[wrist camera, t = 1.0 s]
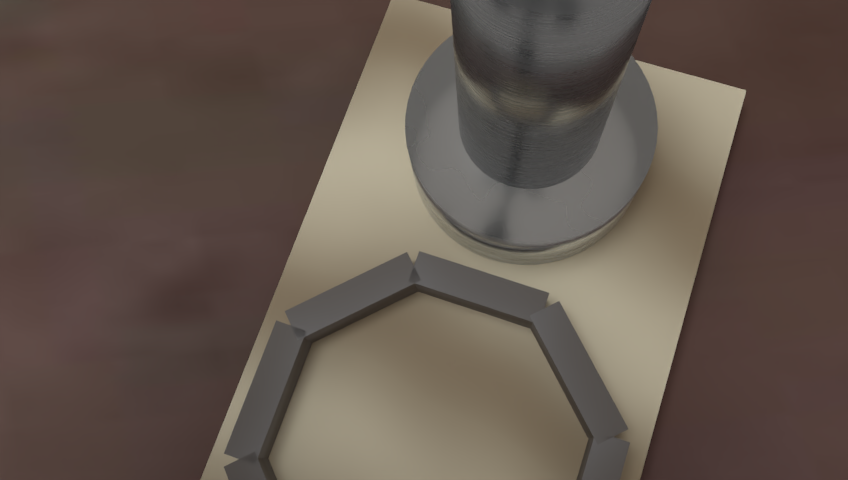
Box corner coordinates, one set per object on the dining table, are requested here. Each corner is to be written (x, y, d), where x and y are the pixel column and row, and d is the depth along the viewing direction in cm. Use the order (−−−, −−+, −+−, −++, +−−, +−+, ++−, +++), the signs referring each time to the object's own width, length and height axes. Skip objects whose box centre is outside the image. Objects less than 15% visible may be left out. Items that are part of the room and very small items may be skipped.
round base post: (687, 183, 21) (861, -51, 11) (494, 309, 21) (506, 176, 11) (552, 14, 23) (606, -318, 13) (370, 127, 22) (283, -131, 12)
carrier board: (516, 899, 18) (523, 982, 15) (116, 723, 20) (53, 769, 17) (734, 106, 23) (771, 54, 20) (396, 12, 24) (385, -49, 21)
